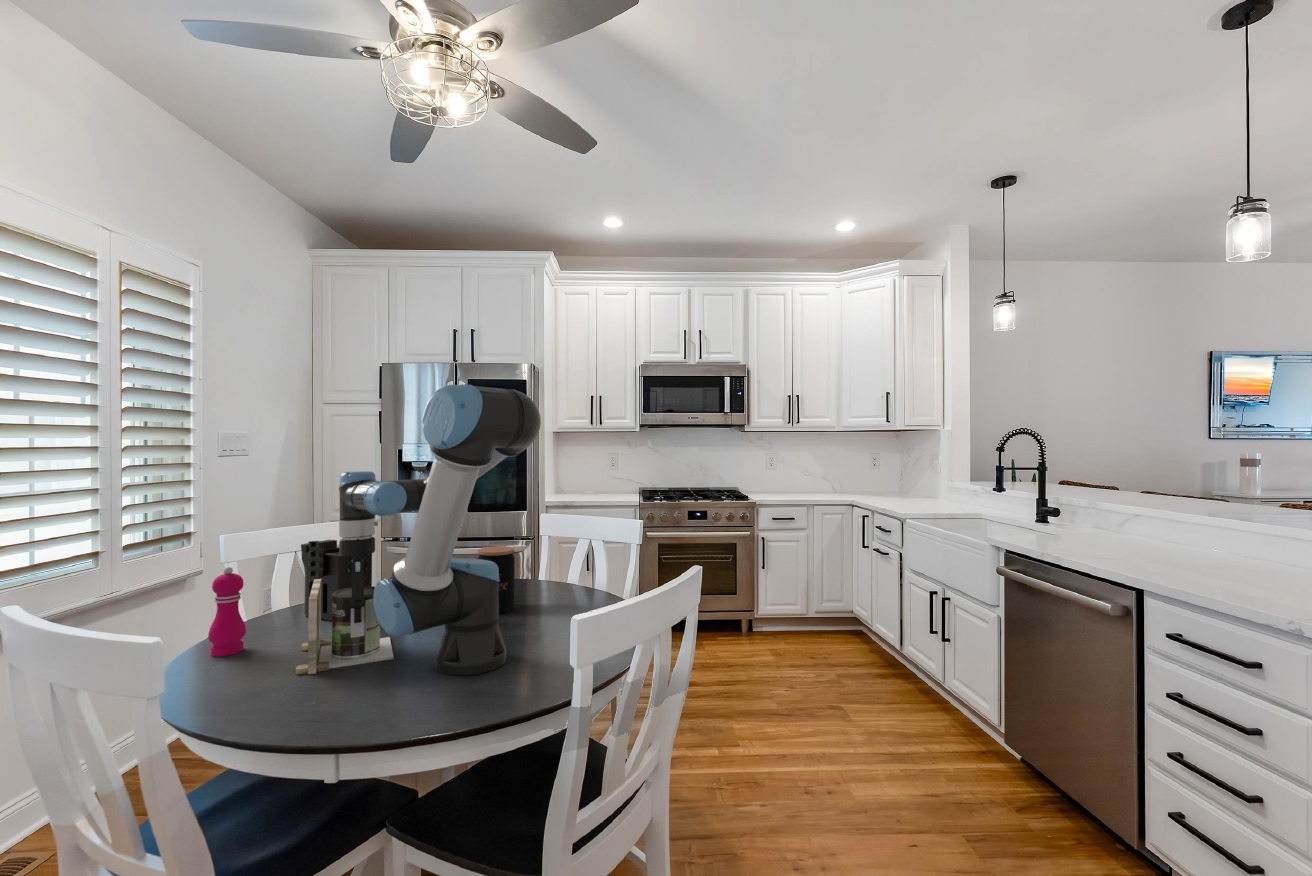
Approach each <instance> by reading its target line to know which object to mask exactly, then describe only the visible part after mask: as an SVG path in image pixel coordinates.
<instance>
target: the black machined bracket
mask: <svg viewBox="0 0 1312 876" xmlns="http://www.w3.org/2000/svg"><path fill="white" fill-rule="evenodd" d="M300 550H301V562H302V564H303V571H304V613H303V614H304V615H305V617H308V618H309V596H310V593H311V589H312V585H313V582H314V580H316V579H321V620H323V621H324V620H325V621H330V622H332V593H333V592H335V591H337V590H340V589H344V588H350V587H351V586H352V582H350V581H349V572H348V562H352V558H351V556H342V555H340V554H339V546H338V540H337V539H325V540H309V541H308V543H301V544H300ZM365 560H367V570H366V580H364V586H373V585H372V583H373V553H372V554H369V555H363V561H365Z"/></svg>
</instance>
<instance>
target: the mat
mask: <svg viewBox="0 0 1312 876" xmlns="http://www.w3.org/2000/svg"><path fill="white" fill-rule="evenodd" d="M331 653H332V644H331V645H327V646H321V649H320V651H319V657H318V662H324V661H329V665H328V670H330V669H337V668H342V667H343V668H344V667H349V666H356V665H357V666H358V665H363V664H369V663H374V662H375V663H376V662H381V661H382V662H383V661H389V660H394V653H393V647H392V643H391V637H390V636H386V637H380V649H379V651H378V652H376V653H374V654H372V655H369V656H366V657H362V658H356V659H337V658H334V657H332V655H331Z"/></svg>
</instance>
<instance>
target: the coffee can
mask: <svg viewBox="0 0 1312 876" xmlns="http://www.w3.org/2000/svg"><path fill="white" fill-rule="evenodd" d="M374 589H375V586H373V585H372V586H364V602H365V604H364V636H360V637H352V638H351V609H348V605H351V603H352V587H350V588H344V589H340V590H337V591H335V592H333V593H332V621H331V623H332V624H331V645H332V653H331V655H332V657H334V658H337V659H356V658H362V657H366V656H369V655H372V654H374V653H376V652H378V651H379V649H380V638H381V625H380V623H379V621H378V619H377V616H376V612H375V608H374V600H373V596H374Z"/></svg>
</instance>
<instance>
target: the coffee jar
mask: <svg viewBox="0 0 1312 876" xmlns="http://www.w3.org/2000/svg"><path fill="white" fill-rule="evenodd" d="M515 551H516V549H515V548H514V547H512V546H508V545H507V546H505V545H501V546H500V545H495V546H492V545H491V546H485V547H481V548H478V549H477V554H478V555H479V556H478V557H477V559H481V560H488V561H492V562H494V563H496V564H497V566H498V569H499V580H500V582H499V613H502V614H504V613H503V612H506V613H508V612H507V611H509V610H511V609H512V610H513V608H514V607H515V573H516V572H515V564H516V563H515V555H514V552H515ZM512 610H511V611H512ZM509 612H510V611H509Z"/></svg>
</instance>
